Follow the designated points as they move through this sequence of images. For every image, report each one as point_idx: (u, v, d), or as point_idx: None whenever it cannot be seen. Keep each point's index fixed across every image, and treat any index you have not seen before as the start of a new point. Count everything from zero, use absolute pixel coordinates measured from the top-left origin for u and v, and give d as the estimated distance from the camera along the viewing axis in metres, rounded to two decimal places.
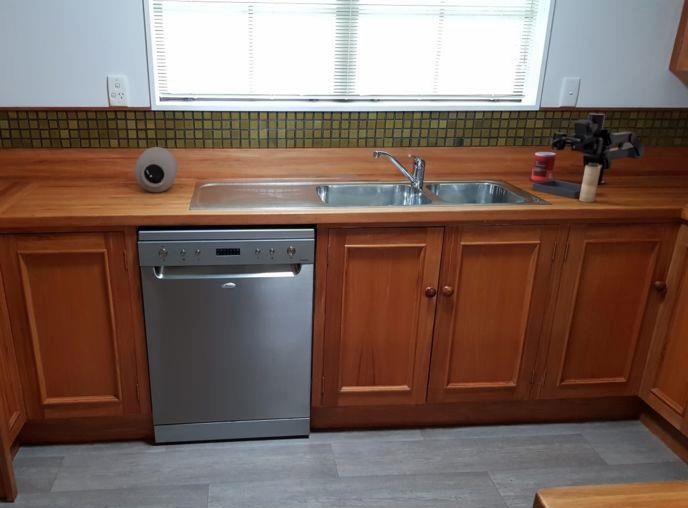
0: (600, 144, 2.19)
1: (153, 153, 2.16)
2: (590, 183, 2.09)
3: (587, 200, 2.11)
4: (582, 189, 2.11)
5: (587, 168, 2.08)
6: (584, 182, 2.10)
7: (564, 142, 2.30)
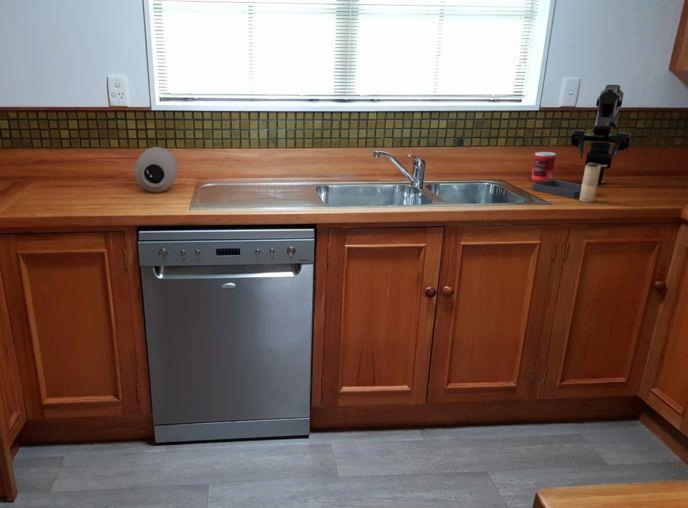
0: (629, 140, 2.12)
1: (153, 153, 2.16)
2: (590, 183, 2.09)
3: (587, 200, 2.11)
4: (582, 189, 2.11)
5: (587, 168, 2.08)
6: (584, 182, 2.10)
7: (586, 139, 2.19)
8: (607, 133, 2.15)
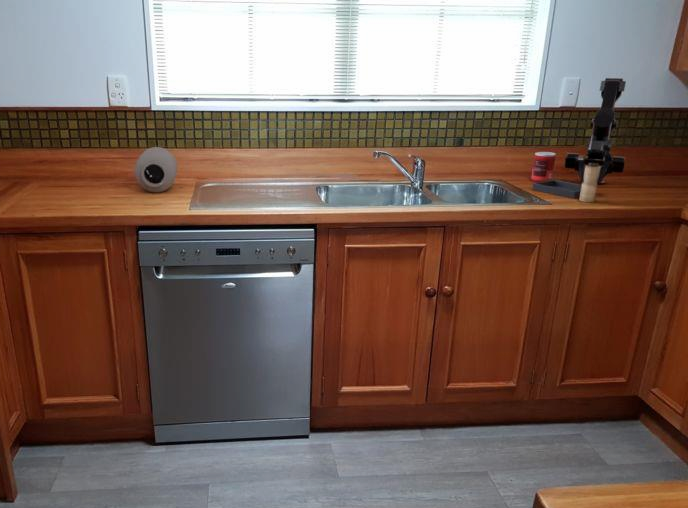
0: None
1: (153, 153, 2.16)
2: (590, 183, 2.09)
3: (587, 200, 2.11)
4: (582, 189, 2.11)
5: (587, 168, 2.08)
6: (584, 182, 2.10)
7: None
8: (601, 157, 2.10)
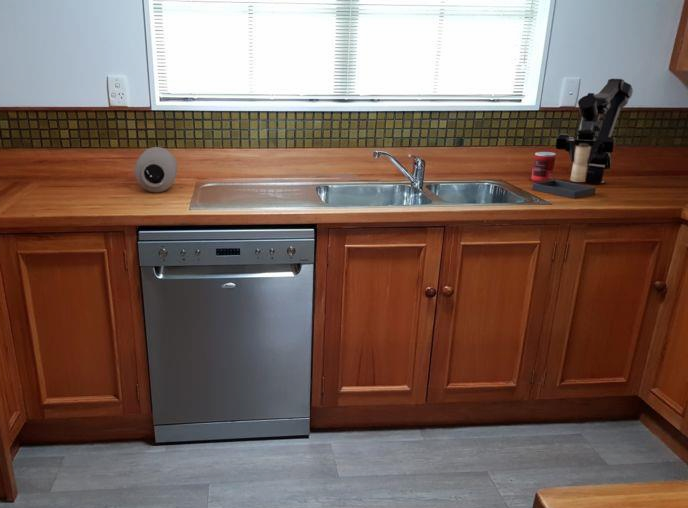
0: None
1: (153, 153, 2.16)
2: (581, 163, 2.13)
3: (578, 180, 2.15)
4: (573, 169, 2.15)
5: (578, 148, 2.12)
6: (575, 162, 2.14)
7: None
8: (591, 137, 2.14)
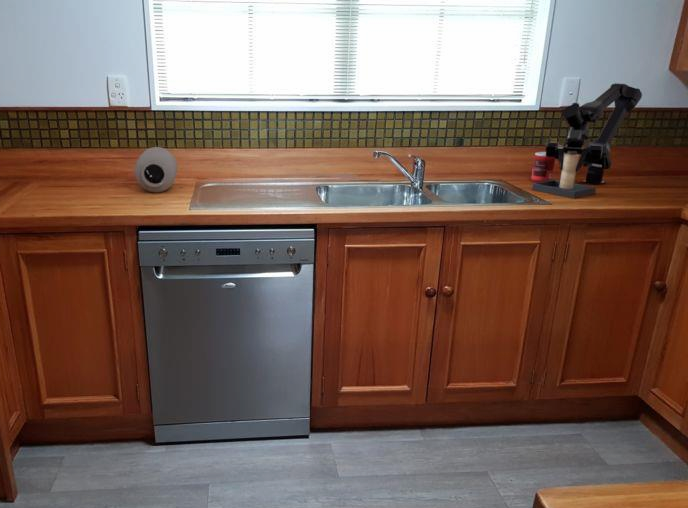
0: (601, 152, 2.17)
1: (153, 153, 2.16)
2: (569, 170, 2.19)
3: (566, 187, 2.21)
4: (562, 176, 2.21)
5: (566, 156, 2.18)
6: (563, 169, 2.20)
7: None
8: (580, 145, 2.20)
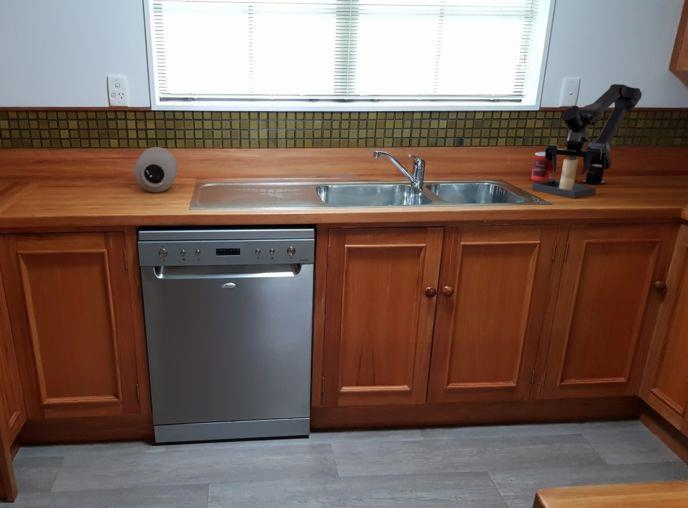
0: (601, 154, 2.17)
1: (153, 153, 2.16)
2: (568, 176, 2.19)
3: None
4: (561, 181, 2.22)
5: (565, 161, 2.19)
6: (563, 174, 2.21)
7: (559, 154, 2.24)
8: (579, 148, 2.20)
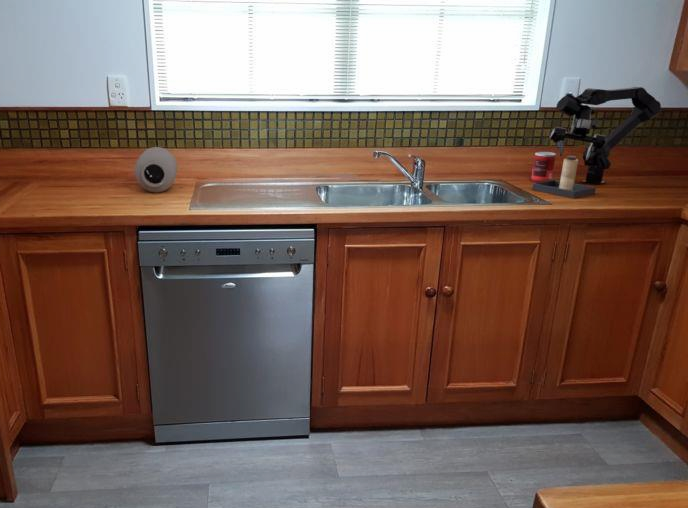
0: None
1: (153, 153, 2.16)
2: (568, 176, 2.19)
3: None
4: (561, 181, 2.22)
5: (565, 161, 2.19)
6: (563, 174, 2.21)
7: (565, 137, 2.29)
8: (585, 133, 2.26)
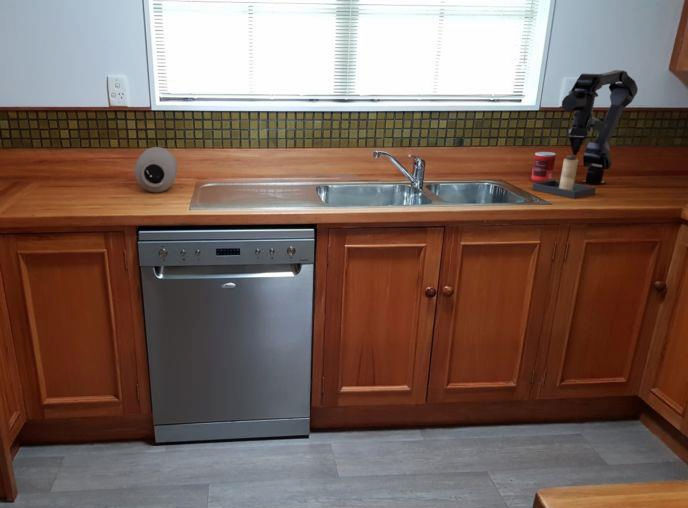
0: None
1: (153, 153, 2.16)
2: (568, 176, 2.19)
3: None
4: (561, 181, 2.22)
5: (565, 161, 2.19)
6: (563, 174, 2.21)
7: None
8: None
